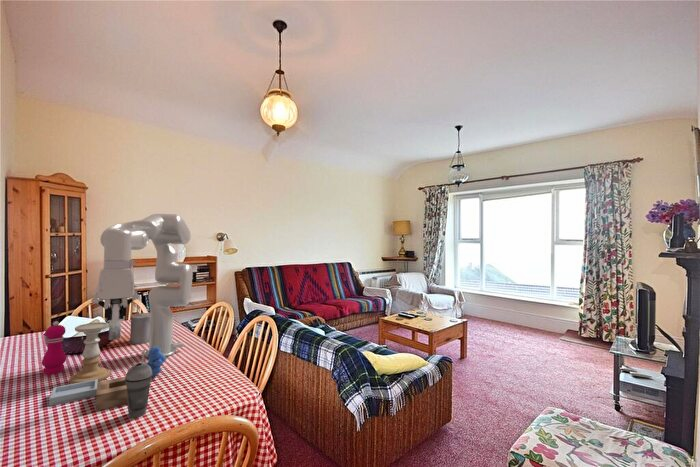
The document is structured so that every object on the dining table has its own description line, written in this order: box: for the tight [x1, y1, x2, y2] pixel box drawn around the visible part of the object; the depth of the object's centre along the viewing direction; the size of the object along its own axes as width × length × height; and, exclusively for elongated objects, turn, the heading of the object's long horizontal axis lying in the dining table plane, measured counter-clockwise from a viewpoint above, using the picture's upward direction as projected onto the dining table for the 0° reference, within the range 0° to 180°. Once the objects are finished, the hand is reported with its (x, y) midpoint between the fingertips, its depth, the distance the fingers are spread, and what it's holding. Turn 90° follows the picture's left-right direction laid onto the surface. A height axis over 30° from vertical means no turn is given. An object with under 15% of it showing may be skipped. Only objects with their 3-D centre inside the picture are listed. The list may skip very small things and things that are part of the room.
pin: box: [108, 299, 123, 341], centre depth 109 cm, size 3×3×14 cm
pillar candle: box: [129, 312, 150, 345], centre depth 166 cm, size 10×10×15 cm
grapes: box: [146, 347, 167, 378], centre depth 127 cm, size 12×7×12 cm, turn 49°
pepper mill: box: [41, 320, 67, 376], centre depth 128 cm, size 7×7×20 cm
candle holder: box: [68, 321, 111, 385], centre depth 123 cm, size 12×12×20 cm
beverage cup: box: [125, 348, 153, 419], centre depth 99 cm, size 7×7×20 cm
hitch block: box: [95, 376, 128, 412], centre depth 108 cm, size 11×11×5 cm
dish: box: [48, 379, 98, 407], centre depth 109 cm, size 12×9×2 cm
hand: (115, 318), depth 109 cm, fingers closed on pin, 3 cm apart
